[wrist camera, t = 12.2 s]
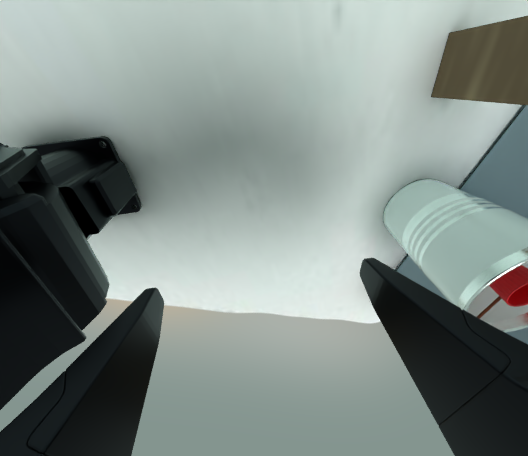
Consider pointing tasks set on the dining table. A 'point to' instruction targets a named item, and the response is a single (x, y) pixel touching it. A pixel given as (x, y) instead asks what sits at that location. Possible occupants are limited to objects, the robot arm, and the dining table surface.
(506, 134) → the door
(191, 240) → the dining table surface
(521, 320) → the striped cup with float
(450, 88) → the door frame
